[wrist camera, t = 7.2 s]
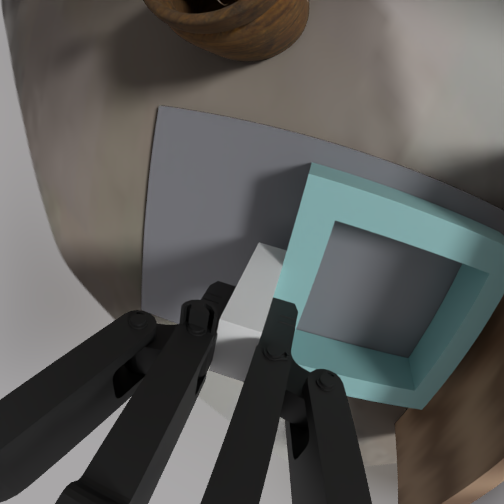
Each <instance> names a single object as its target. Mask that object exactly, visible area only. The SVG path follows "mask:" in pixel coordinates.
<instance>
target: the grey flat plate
mask: <svg viewBox="0 0 504 504" xmlns="http://www.w3.org/2000/svg"><path fill="white" fill-rule="evenodd" d="M312 162H313V163H316V164H320V165H323V166H326V167H330V168H333V169H336V170H340V171H343V172H346V173H349V174H352V175H355V176H358V177H361V178H365V179H368V180H371V181H373V182H376V183H379V184H382V185H385V186H388V187H391V188H394V189H396V190H399V191H402V192H405V193H407V194H410V195H413V196H415V197H418V198H421V199H423V200H426V201H428V202H431V203H434V204H436V205H439V206H441V207H444V208H446V209H448V210H451V211H453V212H456V213H458V214H460V215H463V216H465V217H467V218H470V219H472V220H474V221H477V222H479V223H481V224H483V225H486V226H488V227H490V228H492V229H494V230H496V231H499V232H500V233H501V234H503V235H504V210H502V209H500V208H498V207H496V206H494V205H492V204H490V203H488V202H486V201H484V200H481V199H479V198H477V197H475V196H473V195H471V194H469V193H466V192H464V191H462V190H460V189H457V188H455V187H453V186H451V185H448V184H446V183H444V182H441V181H439V180H436V179H434V178H431V177H429V176H427V175H424V174H422V173H419V172H416V171H414V170H411V169H409V168H406V167H403V166H401V165H398V164H395V163H392V162H390V161H387V160H384V159H381V158H378V157H376V156H373V155H370V154H367V153H364V152H361V151H358V150H354V149H351V148H348V147H345V146H342V145H339V144H335V143H332V142H329V141H325V140H322V139H318V138H315V137H311V136H308V135H304V134H300V133H296V132H293V131H289V130H285V129H281V128H277V127H273V126H269V125H264V124H260V123H256V122H251V121H247V120H242V119H237V118H232V117H227V116H222V115H217V114H212V113H206V112H201V111H195V110H189V109H183V108H176V107H170V106H159V109H158V115H157V122H156V128H155V135H154V142H153V150H152V158H151V166H150V174H149V184H148V194H147V205H146V217H145V230H144V246H143V267H142V303H141V310H143V311H145V312H148V313H151V314H153V315H156V316H158V317H161V318H164V319H166V320H169V321H172V322H175V323H177V324H179V323H180V313H181V305H182V304H183V303H185V302H186V301H189V300H201V299H202V296H203V295H204V293H205V292H206V290H207V289H208V287H209V286H210V285H211V284H213V283H215V282H217V281H220V282H223V283H227V284H230V285H233V286H237V284H238V282H239V280H240V278H241V276H242V274H243V272H244V270H245V268H246V266H247V265H248V263H249V261H250V259H251V257H252V255H253V253H254V251H255V249H256V247H257V245H258V243H259V242H260V243H263V244H266V245H270V246H273V247H276V248H280V249H283V250H286V251H287V249H288V245H289V242H290V238H291V235H292V231H293V228H294V224H295V221H296V217H297V214H298V210H299V207H300V203H301V200H302V196H303V193H304V189H305V185H306V182H307V178H308V174H309V171H310V167H311V164H312ZM461 265H462V263H460V262H457V261H455V260H452V259H449V258H446V257H444V256H441V255H438V254H435V253H432V252H430V251H427V250H424V249H421V248H418V247H415V246H412V245H409V244H406V243H404V242H401V241H398V240H395V239H392V238H389V237H386V236H383V235H380V234H377V233H373V232H370V231H367V230H364V229H361V228H358V227H355V226H352V225H348V224H345V223H342V222H339V221H336V220H335V222H334V225H333V228H332V231H331V234H330V237H329V240H328V243H327V246H326V249H325V252H324V255H323V258H322V260H321V263H320V266H319V269H318V272H317V274H316V277H315V280H314V283H313V285H312V288H311V291H310V294H309V296H308V299H307V302H306V304H305V307H304V310H303V312H302V315H301V318H300V320H299V323H298V325H297V328H296V329H297V330H301V331H304V332H308V333H311V334H315V335H319V336H322V337H326V338H330V339H333V340H337V341H341V342H345V343H348V344H352V345H356V346H360V347H364V348H368V349H372V350H376V351H380V352H384V353H388V354H392V355H397V356H401V357H405V358H409V356H410V355H411V353H412V352H413V350H414V349H415V347H416V346H417V344H418V343H419V341H420V339H421V338H422V336H423V334H424V333H425V331H426V330H427V328H428V326H429V325H430V323H431V321H432V320H433V318H434V316H435V314H436V313H437V311H438V309H439V307H440V306H441V304H442V302H443V300H444V298H445V296H446V295H447V293H448V291H449V289H450V287H451V285H452V283H453V281H454V279H455V277H456V275H457V273H458V271H459V269H460V267H461Z"/></svg>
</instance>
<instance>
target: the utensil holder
mask: <svg viewBox="0 0 504 504" xmlns="http://www.w3.org/2000/svg"><path fill="white" fill-rule="evenodd" d="M143 1H144V2H145V4H146V5H147V7H148V8H149V9H150V10H151V11H152V12H153V13H154V14H155V15H156V16H157V17H158V18H159V19H160V20H162V21H163V22H164V23H166V24H168V25H169V26H170V28H171V29H172V30H173V31H174V32H175V33H176V34H178V35H179V36H180V37H182V38H183V39H185V40H186V41H188V42H190V43H191V44H193V45H195V46H197V47H200V48H202V49H204V50H206V51H209V52H211V53H213V54H216V55H219V56H221V57H224V58H227V59H231V60H237V61H258V60H263V59H267V58H270V57H273V56H275V55H278V54H280V53H281V52H283V51H285V50H286V49H288V48H289V47H290V46H291V45H292V44H293V43H294V42H296V40H297V39H298V38H299V37H300V35H301V34H302V32H303V30H304V28H305V26H306V23H307V20H308V15H309V0H143Z"/></svg>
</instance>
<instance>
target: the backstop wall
mask: <svg viewBox="0 0 504 504" xmlns="http://www.w3.org/2000/svg"><path fill="white" fill-rule="evenodd" d="M395 434H396V449H397V467H398V504H470V503H472V502H474V501H475V500H477V499H478V498H480V497H482V496H483V495H485V494H486V493H487V492H489V491H490V490H492V489H493V488H495V487H496V486H497V485H498V484H500V483H502V482H503V481H504V294H503V296H502V298H501V300H500V302H499V303H498V305H497V307H496V308H495V310H494V312H493V313H492V315H491V317H490V318H489V320H488V322H487V323H486V325H485V326H484V328H483V330H482V331H481V333H480V334H479V336H478V337H477V339H476V340H475V342H474V343H473V345H472V346H471V348H470V349H469V350H468V352H467V353H466V355H465V356H464V357H463V359H462V360H461V362H460V363H459V364H458V366H457V367H456V368H455V370H454V371H453V372H452V374H451V375H450V376H449V378H448V379H447V380H446V381H445V383H444V384H443V385H442V386H441V388H440V389H439V390H438V391H437V393H436V394H435V395H434V396H433V397H432V399H431V400H430V401H429V402H428V403H427V405H426V406H425V407H424V408H423V409H422V410H420V409H414V408H408V409H407V410H406V412H405V413H404V414H403V415H402V416H401V417H400V418H399V420H398V421H397V422H396V423H395Z"/></svg>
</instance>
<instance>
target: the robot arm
mask: <svg viewBox="0 0 504 504" xmlns="http://www.w3.org/2000/svg"><path fill="white" fill-rule="evenodd" d="M286 252H287V251H286V250H283V249H280V248H276V247H273V246H270V245H266V244H263V243H260V242H259V243H258V245H257V247H256V249H255V251H254V253H253V255H252V257H251V259H250V261H249V263H248V265H247V266H246V268H245V270H244V272H243V274H242V276H241V278H240V280H239V282H238V284H237V286H233V285H230V284H227V283H223V282H220V281H217V282H215V283H213V284H211V285H210V286H209V287H208V289H207V290H206V292H205V293H204V295H203V296H202V299H201V300H189V301H186V302H185V303H183V304H182V305H181V313H180V323H179V324H177V325H164V324H156V320H155V318H154V317H153V316H152V315H151V314H150V313H147V312H145V311H139V310H136V311H130V312H128V313H125V314H124V315H122V316H121V317H119V318H118V319H116V320H115V321H113V322H112V323H111V324H109V325H108V326H106V327H105V328H103V329H102V330H100V331H99V332H97V333H96V334H94V335H93V336H91V337H90V338H88V339H87V340H85V341H84V342H83V343H81V344H80V345H78V346H77V347H75V348H74V349H72V350H71V351H69V352H68V353H67V354H65V355H64V356H62V357H61V358H59V359H58V360H56V361H55V362H54V363H52V364H51V365H49V366H48V367H46V368H45V369H44V370H42V371H41V372H39V373H38V374H36V375H35V376H34V377H32V378H31V379H29V380H28V381H26V382H25V383H24V384H22V385H21V386H19V387H18V388H16V389H15V390H13V391H12V392H11V393H9V394H8V395H6V396H5V397H4V398H2V399H1V400H0V502H3V501H6V500H8V499H10V498H12V497H14V496H16V495H17V494H19V493H20V492H22V491H23V490H24V489H26V488H27V487H28V486H29V485H31V484H32V483H33V482H34V481H35V480H36V479H38V478H39V477H40V476H41V475H42V474H44V473H45V472H46V471H47V470H48V469H49V468H50V467H52V466H53V465H54V464H55V463H56V462H58V461H59V460H60V459H61V458H62V457H63V456H65V455H66V454H67V453H68V452H69V451H70V450H71V449H73V448H74V447H75V446H76V445H77V444H78V443H79V442H81V441H82V440H83V439H84V438H85V437H86V436H87V435H89V434H90V433H91V432H92V431H93V430H94V429H95V428H96V427H98V426H99V425H100V424H101V423H102V422H103V421H104V420H106V419H107V418H108V417H109V416H110V415H111V414H112V413H113V412H114V411H116V410H117V409H118V408H119V407H120V406H121V405H122V404H123V403H124V402H126V401H127V400H128V399H129V398H130V397H131V396H132V397H131V399H130V400H129V402H128V403H127V405H126V406H125V408H124V410H123V411H122V413H121V414H120V416H119V418H118V419H117V421H116V422H115V424H114V425H113V427H112V429H111V430H110V432H109V433H108V435H107V437H106V438H105V440H104V441H103V443H102V445H101V446H100V448H99V449H98V451H97V453H96V454H95V456H94V457H93V459H92V461H91V462H90V464H89V466H88V467H87V469H86V471H85V472H84V474H83V475H82V477H81V478H80V479H79V480H78V481H74V482H71V483H70V484H69V485H68V486H66V488H65V489H64V490H63V492H62V493H61V495H60V497H59V498H58V500H57V501H56V503H55V504H148V503H149V500H150V498H151V496H152V494H153V492H154V490H155V488H156V485H157V483H158V481H159V479H160V477H161V475H162V473H163V471H164V468H165V466H166V464H167V462H168V460H169V458H170V456H171V453H172V451H173V449H174V447H175V445H176V443H177V441H178V438H179V436H180V434H181V432H182V430H183V428H184V425H185V423H186V421H187V419H188V417H189V415H190V412H191V410H192V408H193V406H194V404H195V401H196V399H197V397H198V395H199V393H200V391H201V389H202V386H203V384H204V382H205V379H206V374H207V371H208V369H209V366H210V369H209V370H210V371H213V372H216V373H219V374H222V375H225V376H228V377H231V378H234V379H237V380H240V381H243V382H244V384H243V387H242V390H241V393H240V396H239V399H238V402H237V405H236V408H235V410H234V413H233V416H232V419H231V422H230V425H229V428H228V430H227V433H226V436H225V439H224V442H223V444H222V447H221V450H220V453H219V456H218V458H217V461H216V464H215V467H214V469H213V472H212V474H211V477H210V480H209V483H208V485H207V488H206V491H205V493H204V496H203V498H202V501H201V504H259V501H260V497H261V494H262V490H263V486H264V482H265V478H266V474H267V470H268V466H269V462H270V458H271V454H272V449H273V445H274V441H275V437H276V432H277V428H278V423H279V419H280V417H282V418H283V419H285V427H286V438H287V449H288V460H289V471H290V483H291V494H292V504H372V502H371V497H370V492H369V487H368V483H367V478H366V474H365V469H364V465H363V460H362V456H361V452H360V448H359V443H358V439H357V435H356V431H355V427H354V423H353V419H352V415H351V411H350V407H349V403H348V399H347V396H346V392H345V388H344V384H343V382H342V380H341V378H340V377H339V376H338V375H337V374H336V373H334V372H332V371H330V370H326V369H316V370H314V371H312V372H309V371H307V370H306V369H304V368H302V367H301V366H299V365H298V364H297V363H296V362H295V361H294V359H293V357H292V354H291V348H292V343H293V338H294V332H295V326H296V321H297V316H298V310H297V308H296V305H295V304H294V303H291V302H288V301H284V300H281V299H278V298H274V297H273V296H274V292H275V289H276V286H277V283H278V279H279V276H280V273H281V269H282V266H283V262H284V259H285V255H286Z"/></svg>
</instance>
